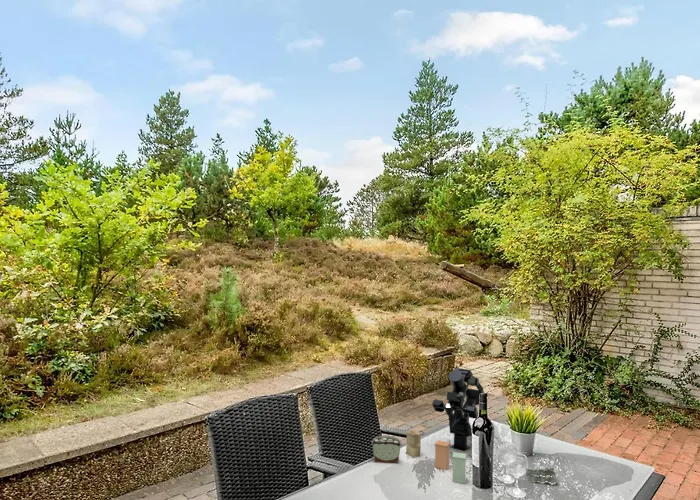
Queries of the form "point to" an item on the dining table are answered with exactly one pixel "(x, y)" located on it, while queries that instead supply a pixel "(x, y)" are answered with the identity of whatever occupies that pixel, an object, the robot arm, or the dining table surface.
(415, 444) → the oak key
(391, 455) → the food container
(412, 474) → the dining table surface
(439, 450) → the orange rectangular block
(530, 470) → the egg carton
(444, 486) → the dining table surface
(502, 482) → the dining table surface
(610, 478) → the dining table surface
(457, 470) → the sage key
